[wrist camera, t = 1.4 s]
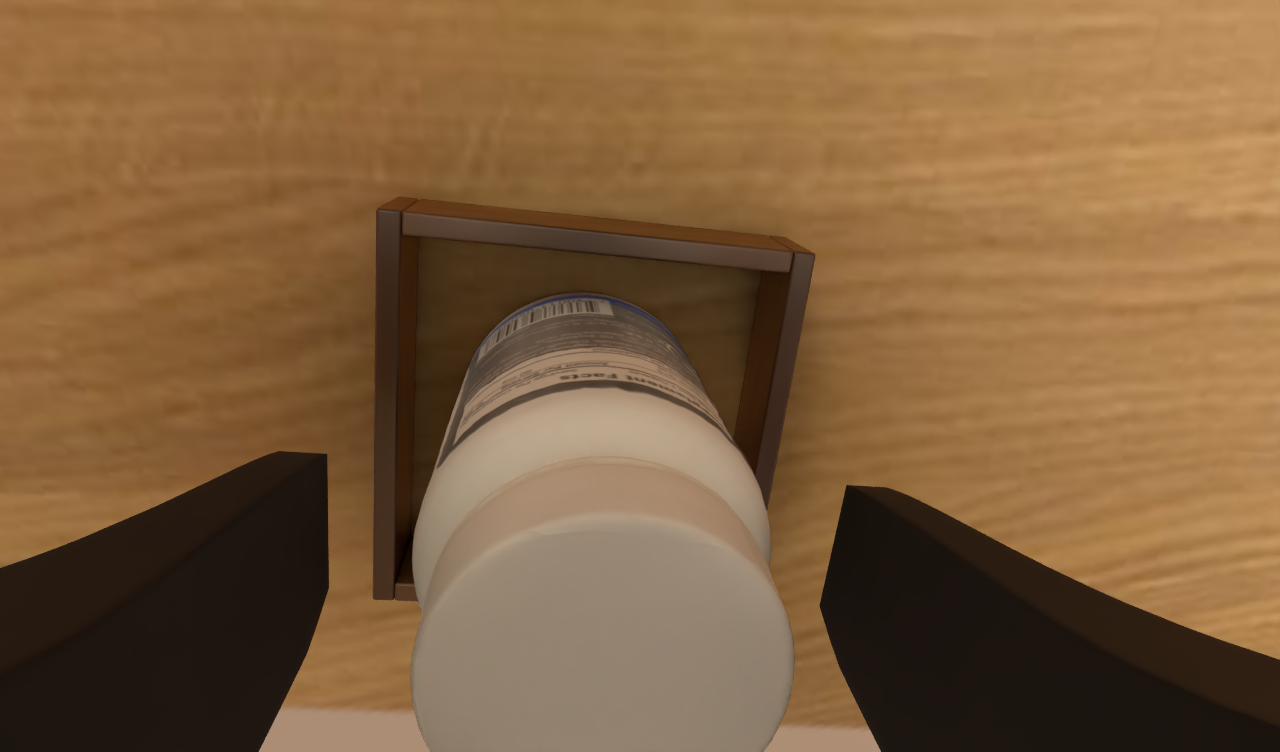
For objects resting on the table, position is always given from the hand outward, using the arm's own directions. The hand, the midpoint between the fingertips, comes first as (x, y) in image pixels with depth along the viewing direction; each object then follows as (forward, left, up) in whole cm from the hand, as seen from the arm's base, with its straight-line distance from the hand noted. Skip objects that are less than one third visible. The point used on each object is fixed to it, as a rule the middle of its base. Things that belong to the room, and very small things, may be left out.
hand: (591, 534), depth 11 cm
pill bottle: (0, 0, -6) cm, 6 cm away
